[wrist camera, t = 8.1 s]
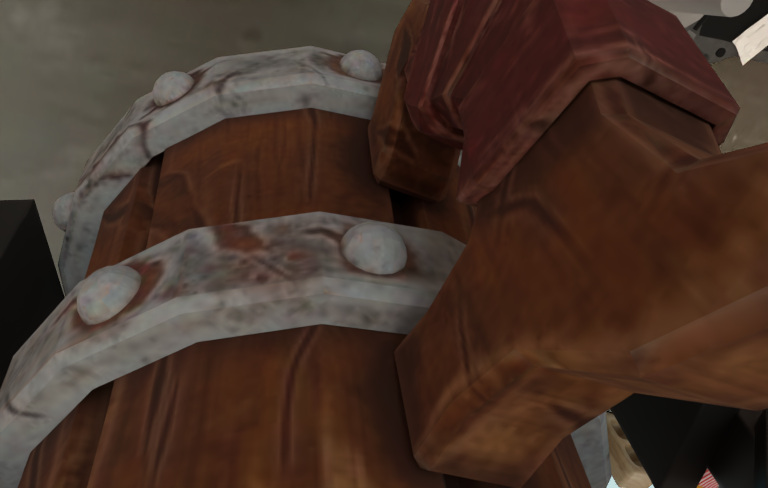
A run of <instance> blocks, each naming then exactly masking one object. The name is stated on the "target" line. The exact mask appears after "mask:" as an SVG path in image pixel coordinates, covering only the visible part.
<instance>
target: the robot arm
mask: <svg viewBox="0 0 768 488" xmlns="http://www.w3.org/2000/svg"><path fill="white" fill-rule="evenodd" d="M64 298H65V297H64V294H63V291H62V288H61V284H60V281H59V278H58V275H57V271H56V268H55V265H54V262H53V259H52V255H51V252H50V249H49V246H48V242H47V239H46V236H45V233H44V230H43V226H42V223H41V220H40V217H39V213H38V210H37V207H36V204H35V201H34V200H3V201H0V389H1V386H2V384H3V381H4V379H5V376H6V374H7V371H8V368H9V366H10V363H11V361H12V358H13V356H14V355H15V354H16V352H17V351H18V350H19V349H20V348H21V347H22V346H23V345H24V343H25V342H26V341H27V340H28V339H29V338H30V337H31V336H32V334H33V333H34V332H35V331H36V330H37V329H38V328H39V327H40V325H41V324H42V323H43V322H44V321H45V320H46V319H47V318H48V316H49V315H50V314H51V313H52V312H53V311H54V310H55V309H56V307H57V306H58V305H59V304H60V303H61V302H62V301H63V300H64ZM610 409H611V411H612V413H613V414H614V416H615V418H616V420H617V422H618V423H619V425H620V427H621V429H622V430H623V432H624V434H625V436H626V438H627V439H628V441H629V443H630V445H631V447H632V448H633V450H634V452H635V454H636V455H637V457H638V459H639V461H640V463H641V464H642V466H643V468H644V470H645V471H646V473H647V475H648V477H649V479H650V480H651V482H652V484H653V486H654V487H655V488H697V486H698V484H699V482H700V481H701V479H702V477H703V475H704V473H705V472H706V470H707V468H708V470H709V471H710V473H711V474H712V476H713V477H714V479H715V480H716V482H717V483H718V485H719V486H718V488H768V408H767V409H764V410H760V411H754V410H747V409H740V408H733V407H727V406H720V405H713V404H706V403H700V402H693V401H686V400H679V399H672V398H666V397H659V396H652V395H645V394H639V393H633V394H632V395H630V396H629V397H627V398H626V399H624V400H623V401H621V402H619V403H618V404H616V405H615V406H613V407H612V408H610Z"/></svg>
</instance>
